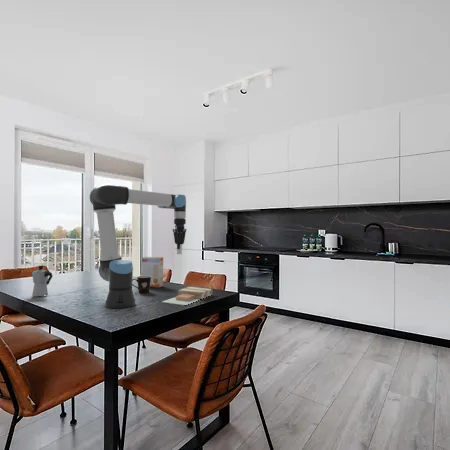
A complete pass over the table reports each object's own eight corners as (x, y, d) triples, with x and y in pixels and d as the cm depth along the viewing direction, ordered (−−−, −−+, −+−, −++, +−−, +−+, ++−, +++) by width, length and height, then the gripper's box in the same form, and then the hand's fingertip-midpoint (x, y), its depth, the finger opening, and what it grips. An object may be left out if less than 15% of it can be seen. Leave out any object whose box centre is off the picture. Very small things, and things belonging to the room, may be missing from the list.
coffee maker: (25, 296, 177) (26, 265, 177) (38, 293, 185) (39, 264, 186) (44, 298, 173) (45, 267, 173) (57, 295, 181) (58, 265, 181)
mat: (185, 305, 160) (185, 305, 160) (161, 302, 167) (161, 301, 167) (200, 300, 173) (200, 299, 173) (177, 297, 180) (177, 296, 180)
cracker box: (163, 286, 214) (163, 257, 214) (159, 287, 208) (159, 257, 209) (145, 285, 218) (146, 256, 218) (141, 286, 212) (141, 257, 212)
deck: (200, 299, 174) (200, 292, 174) (177, 296, 181) (177, 290, 181) (212, 295, 186) (212, 288, 186) (190, 292, 193) (190, 286, 193)
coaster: (187, 301, 168) (187, 297, 168) (175, 299, 172) (175, 296, 172) (195, 298, 175) (195, 295, 175) (183, 297, 179) (183, 293, 179)
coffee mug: (152, 291, 197) (152, 275, 197) (148, 294, 188) (148, 277, 188) (135, 290, 198) (135, 275, 198) (130, 293, 189) (130, 277, 189)
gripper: (178, 217, 191) (178, 255, 190) (190, 218, 202) (189, 253, 202) (169, 217, 194) (168, 254, 193) (180, 218, 206) (180, 253, 205)
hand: (179, 254), depth 198 cm, fingers closed
